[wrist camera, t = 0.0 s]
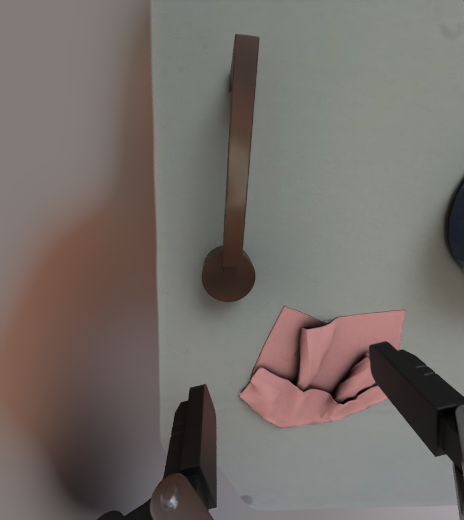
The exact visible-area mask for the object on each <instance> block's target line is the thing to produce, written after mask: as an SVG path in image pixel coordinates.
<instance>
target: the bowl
mask: <svg viewBox="0 0 464 520" xmlns="http://www.w3.org/2000/svg"><path fill="white" fill-rule="evenodd" d="M449 243H450V246H451V249H452V252H453V255H454V258H455V259H456V260H457V262H458V263H459V264H460V265H461V266H462V267H463V268H464V184H463V185H462V187H461V189H460V190H459V192H458V194H457V197H456V200H455V203H454V206H453V209H452V211H451V214H450V218H449Z"/></svg>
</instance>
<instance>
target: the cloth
mask: <svg viewBox="0 0 464 520" xmlns="http://www.w3.org/2000/svg"><path fill="white" fill-rule="evenodd" d="M405 311H406V310H399V311H388V312H379V313H369V314H361V315H353V316H345V317H339V318H336V319H335V320H333V321H332V322H331V323H330V324H327V323H324V322H322V321H320V320H317V319H314V318H312V317H310V316H308V315H306V314H304V313H301V312H299V311H296V310H294V309H291V308H288V307H286V306H284V308H283V310H282V312H281V313H280V315H279V317H278V319H277V321H276V323H275V325H274V327H273V329H272V331H271V333H270V335H269V337H268V339H267V341H266V343H265V345H264V347H263V349H262V352H261V354H260V356H259V358H258V360H257V363H256V365H255V367H254V369H253V378H252V380H251V383H250V384H249V385H248V386H247V387H246V389H245V390H244V391H243V392H242V393H241V394H240V395H239V396H240V397H241V398H242V399H243V400H245V401H246V402H247V403H248V404H249V405H250V407H251V408H252V409H253V410H254V411H255V412H257V413H258V414H260V415H261V416H262V418H264V419H265V420H267V421H268V422H271V423H273V424H274V425H276V426H277V427H279V428H290V427H292V426H304V425H306V424H308V423H309V424H314V423H327V422H331V421H333V420H337V419H342V418H345V417H347V416H349V415H350V414H352V413H354V412H358V411H362V410H364V409H366V408H368V407H369V406H371V405H373V404H377V403H380V402H382V401H384V400H386V399H387V398H388V397H387V396H386V395H385V394H384V392H383V391H382V390H381V389H380V388H379V386H378V385H377V384H376V382H375V380H374V379H373V376H372V373H371V368H370V355H369V346H370V345H372V344H376V343H380V342H384V341H387V342H389V343H390V344H391V345H392V346H393V347H394V348H396V349H397V350H398V351H399V346H400V340H401V335H402V329H403V324H404V317H405Z"/></svg>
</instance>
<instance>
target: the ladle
mask: <svg viewBox="0 0 464 520" xmlns="http://www.w3.org/2000/svg"><path fill="white" fill-rule="evenodd" d="M258 49H259V37H258V36H249V35H241V34H235V40H234V48H233V56H232V63H231V71H230V89H229V91H230V92H231V105H230V124H229V142H228V160H227V179H226V197H225V215H224V234H223V246H219V247H217V248H215V249H213V250H212V251H211V252H210V253H209V254H208V255H207V257H206V259H205V261H204V265H203V271H202V282H203V286H204V288H205V290H206V291H207V292H208V293H209V295H211V296H212V297H213V298H215V299H217V300H220V301H225V302H232V301H236V300H239V299H241V298H243V297H244V296H246V295H247V294H248V293H249V292H250V291H251V289H252V287H253V285H254V282H255V270H254V267H253V265H252V263H251V260H250V258H249V257H248V255H247V254H246V252H244V251H243V239H244V227H245V214H246V201H247V189H248V176H249V163H250V151H251V138H252V125H253V113H254V100H255V87H256V75H257V62H258Z"/></svg>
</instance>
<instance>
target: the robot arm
mask: <svg viewBox="0 0 464 520" xmlns="http://www.w3.org/2000/svg"><path fill="white" fill-rule="evenodd" d="M369 355H370V368H371V373H372V376H373V379H374V380H375V382H376V384H377V385H378V386H379V388H380V389H381V390H382V391H383V392H384V394H385V395H386V396H387V397H388V399H389V400H390V401H391V402H392V404H393V405H394V406H395V407H396V409H397V410H398V411H399V412H400V414H401V415H402V416H403V417H404V418H405V420H406V421H407V422H408V423H409V425H410V426H411V427H412V428H413V430H414V431H415V432H416V433H417V435H418V436H419V437H420V438H421V440H422V441H423V442H424V443H425V445H426V446H427V447H428V448H429V449H430V451H431V452H432V453H433V454H434V456H435V457H436V456H441V455H445V454H447V455H448V457H449V458H450V459H451V460H452V461H453V473H454V481H455V488H456V495H457V502H458V510H459V516H460V520H464V397H463V396H462V395H461V394H460V393H459V392H457V391H456V390H455V389H454V388H453V387H451V386H450V385H449V384H448V383H447V382H446V381H444V380H443V379H442V378H441V377H440V376H439V375H437V374H435V372H434V371H433V370H432V369H430V368H429V367H427V366H426V364H425V363H423V362H422V361H421V360H420V359H419V358H418V357H416V356H415V355H413V354H411V353H409V352H407V351H405V350H399V351H398V350H397V349H396V348H394V347H393V346H392V345H391V344H390V343H389V342H387V341H384V342H380V343H376V344H372V345H370V346H369ZM216 481H217V479H216V414H215V409H214V406H213V403H212V400H211V397H210V394H209V391H208V388H207V385H206V384H203V385H199V386H195V387H191V388H190V391H189V399H188V401H184V402H181V403H180V405H179V407H178V409H177V410H176V412H175V416H174V421H173V427H172V433H171V438H170V444H169V450H168V455H167V461H166V466H165V472H164V477H163V480H162V481H161V482H160V483H159V484H158V486H157V487H156V489H155V491H154V492H153V495H152V497H151V498H150V499H149V500H148V501H147V502H146V503H144V504H143V505H141V506H140V507H138V508H137V509H135V510H133V511H132V512H130V513H129V514H127V515H126V516H123V515H122V513H120V512H119V511H110V512H108V513H106V514H104V515H103V516H101V517H100V518H99V519H97V520H214V519H213V518H212V516H211V515H210V513H209V511H208V510H209V509H211V508H216V507H217V493H216V492H217V491H216V490H217V486H216V485H217V482H216Z"/></svg>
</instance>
